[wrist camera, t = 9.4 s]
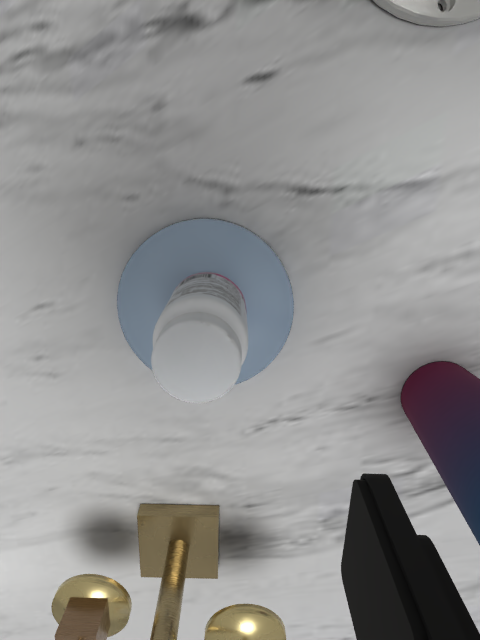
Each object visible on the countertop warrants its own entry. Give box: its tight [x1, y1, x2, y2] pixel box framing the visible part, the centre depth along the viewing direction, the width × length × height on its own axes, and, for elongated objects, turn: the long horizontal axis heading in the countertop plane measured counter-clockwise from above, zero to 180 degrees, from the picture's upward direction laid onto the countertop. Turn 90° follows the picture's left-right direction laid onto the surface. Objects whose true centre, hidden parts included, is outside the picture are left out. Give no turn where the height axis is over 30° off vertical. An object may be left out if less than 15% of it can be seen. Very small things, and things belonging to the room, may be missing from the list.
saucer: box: [117, 218, 294, 384], centre depth 27 cm, size 11×11×1 cm
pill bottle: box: [151, 272, 248, 403], centre depth 23 cm, size 5×5×8 cm
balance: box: [52, 504, 286, 640], centre depth 28 cm, size 6×15×13 cm, turn 88°
